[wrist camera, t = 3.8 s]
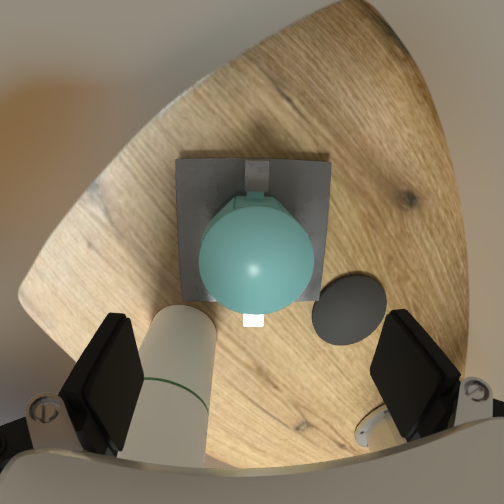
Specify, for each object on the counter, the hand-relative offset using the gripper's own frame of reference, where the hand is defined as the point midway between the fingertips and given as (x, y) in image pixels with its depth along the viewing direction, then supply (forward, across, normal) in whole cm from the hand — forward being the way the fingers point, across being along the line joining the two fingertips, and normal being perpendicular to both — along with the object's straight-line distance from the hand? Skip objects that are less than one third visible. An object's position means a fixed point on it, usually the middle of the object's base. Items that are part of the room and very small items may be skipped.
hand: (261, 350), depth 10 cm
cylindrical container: (+17, +6, +12) cm, 22 cm away
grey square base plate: (+17, -1, +1) cm, 17 cm away
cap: (+14, 0, +1) cm, 14 cm away
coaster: (+17, -11, +9) cm, 22 cm away
